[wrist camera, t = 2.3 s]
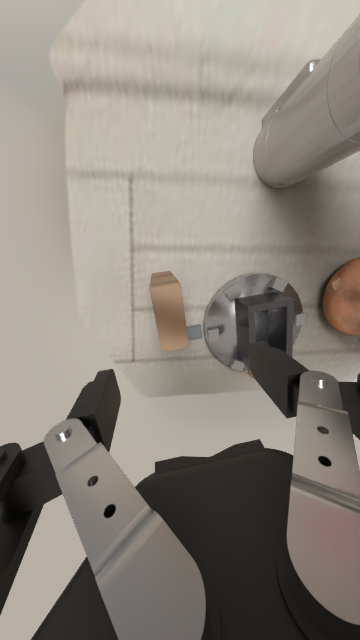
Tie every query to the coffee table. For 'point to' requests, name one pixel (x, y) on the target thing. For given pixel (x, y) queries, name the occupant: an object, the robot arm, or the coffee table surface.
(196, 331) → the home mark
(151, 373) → the coffee table surface
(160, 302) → the brown wooden block
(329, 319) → the ceramic jug
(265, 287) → the grey disc
